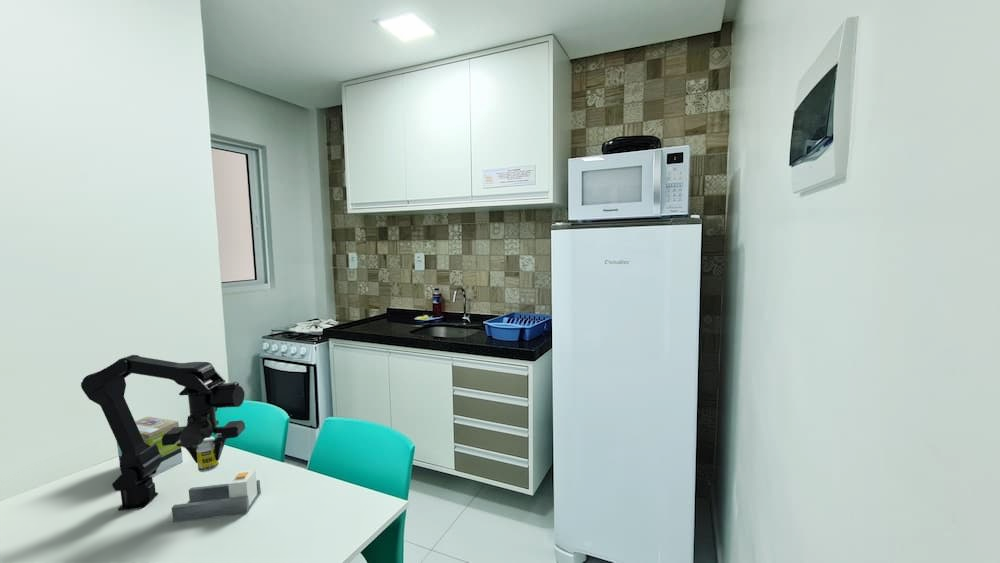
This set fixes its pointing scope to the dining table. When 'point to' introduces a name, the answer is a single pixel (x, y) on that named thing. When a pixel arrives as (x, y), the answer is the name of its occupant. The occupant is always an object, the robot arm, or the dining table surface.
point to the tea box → (159, 441)
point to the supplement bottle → (206, 455)
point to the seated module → (243, 485)
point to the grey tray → (212, 503)
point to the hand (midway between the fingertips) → (207, 461)
